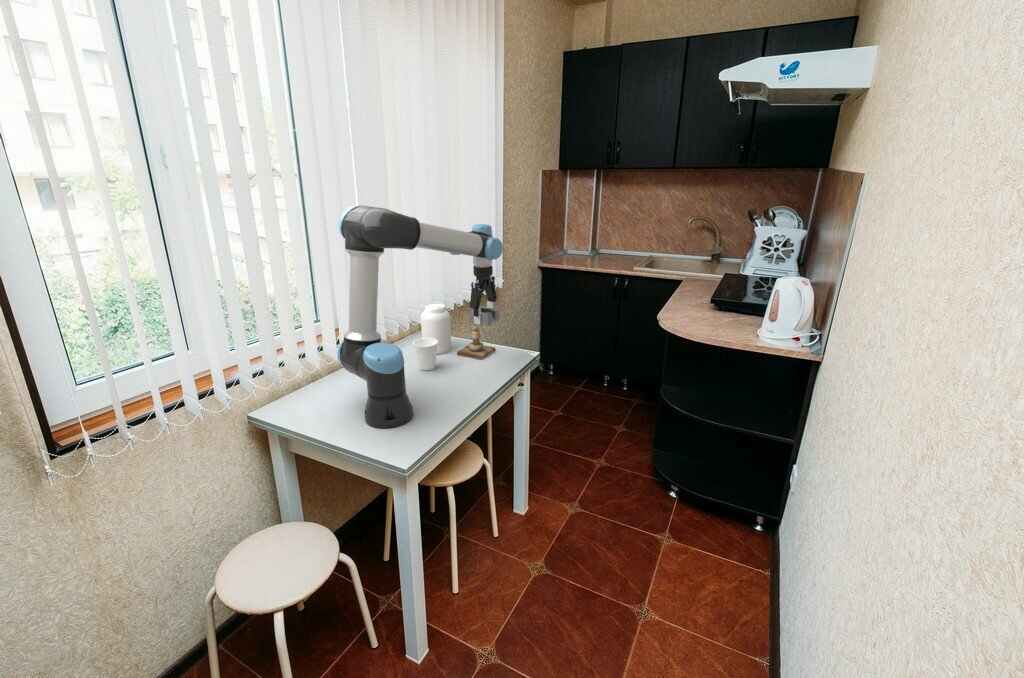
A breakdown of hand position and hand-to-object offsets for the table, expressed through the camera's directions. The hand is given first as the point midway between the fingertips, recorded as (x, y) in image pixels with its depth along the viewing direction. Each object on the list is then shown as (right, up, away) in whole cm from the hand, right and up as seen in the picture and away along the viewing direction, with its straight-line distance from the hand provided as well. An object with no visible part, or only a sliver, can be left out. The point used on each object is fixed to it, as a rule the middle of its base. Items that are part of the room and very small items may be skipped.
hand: (484, 320), depth 192 cm
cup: (-23, -19, -3) cm, 30 cm away
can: (-22, -12, +15) cm, 29 cm away
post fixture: (-4, -14, +12) cm, 19 cm away
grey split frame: (0, 0, 0) cm, 0 cm away
